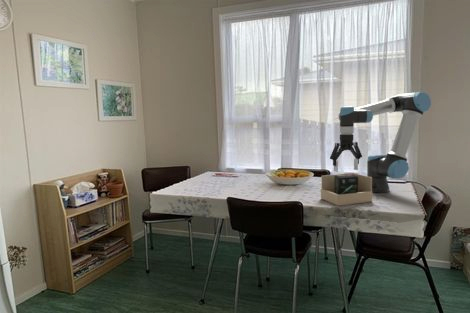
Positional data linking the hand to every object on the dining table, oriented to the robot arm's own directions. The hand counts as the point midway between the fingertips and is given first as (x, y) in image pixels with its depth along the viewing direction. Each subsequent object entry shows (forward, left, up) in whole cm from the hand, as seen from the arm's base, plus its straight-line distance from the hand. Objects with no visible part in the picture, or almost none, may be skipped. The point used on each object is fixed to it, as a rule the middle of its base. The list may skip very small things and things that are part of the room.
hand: (345, 170), depth 193 cm
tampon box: (0, 0, -18) cm, 18 cm away
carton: (0, 0, -17) cm, 18 cm away
